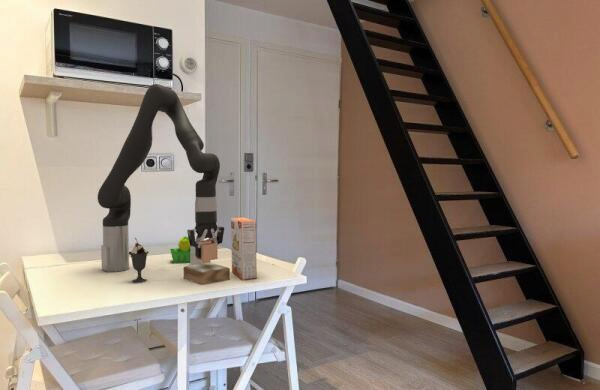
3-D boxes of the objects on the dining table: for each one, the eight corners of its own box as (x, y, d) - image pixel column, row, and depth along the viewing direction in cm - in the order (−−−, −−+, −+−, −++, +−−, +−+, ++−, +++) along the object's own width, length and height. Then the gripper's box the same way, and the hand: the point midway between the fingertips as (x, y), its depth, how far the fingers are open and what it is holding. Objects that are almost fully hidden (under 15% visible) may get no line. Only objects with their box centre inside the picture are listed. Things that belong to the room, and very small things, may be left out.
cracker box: (230, 272, 168) (230, 217, 167) (246, 270, 171) (245, 216, 169) (240, 280, 155) (240, 221, 154) (257, 278, 158) (256, 220, 157)
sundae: (133, 278, 158) (132, 236, 157) (152, 278, 158) (151, 236, 157) (125, 283, 151) (124, 239, 150) (145, 283, 151) (144, 239, 150)
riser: (202, 284, 149) (202, 272, 149) (183, 277, 159) (183, 266, 159) (229, 279, 157) (229, 267, 156) (210, 273, 166) (210, 261, 166)
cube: (203, 261, 154) (203, 245, 153) (195, 258, 158) (195, 243, 157) (217, 259, 157) (217, 243, 157) (209, 256, 161) (209, 241, 161)
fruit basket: (197, 258, 194) (196, 233, 193) (199, 262, 186) (198, 236, 185) (170, 260, 190) (169, 234, 190) (170, 264, 182) (170, 237, 181)
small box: (203, 266, 178) (202, 240, 177) (190, 266, 179) (189, 240, 178) (211, 262, 185) (210, 237, 185) (198, 262, 187) (198, 237, 186)
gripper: (217, 207, 164) (218, 253, 165) (182, 210, 154) (183, 258, 155) (229, 209, 159) (229, 255, 160) (193, 211, 149) (193, 261, 150)
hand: (206, 256), depth 157 cm, fingers closed on cube, 5 cm apart
